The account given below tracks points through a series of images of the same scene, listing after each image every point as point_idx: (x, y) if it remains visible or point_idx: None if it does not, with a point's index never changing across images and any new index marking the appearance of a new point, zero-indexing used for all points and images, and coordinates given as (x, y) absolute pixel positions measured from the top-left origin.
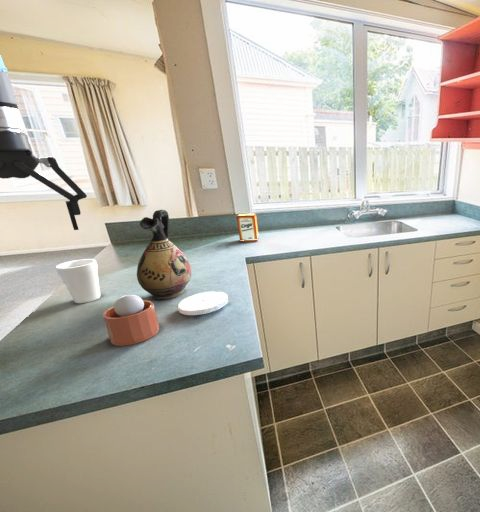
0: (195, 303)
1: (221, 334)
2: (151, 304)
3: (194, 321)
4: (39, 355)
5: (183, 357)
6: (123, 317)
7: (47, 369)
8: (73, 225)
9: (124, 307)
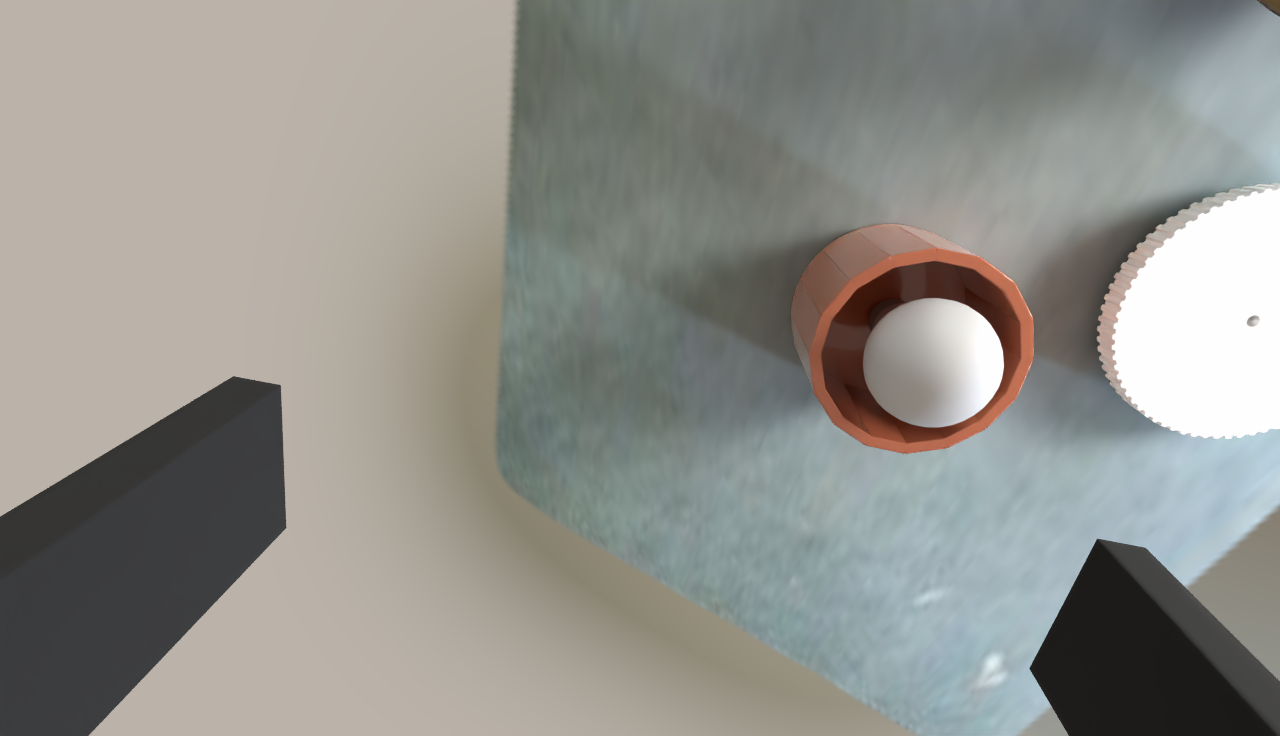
0: (1203, 320)
1: (1040, 587)
2: (1007, 398)
3: (1076, 406)
4: (598, 157)
5: (875, 603)
6: (856, 436)
7: (597, 308)
8: (1068, 730)
9: (894, 416)
